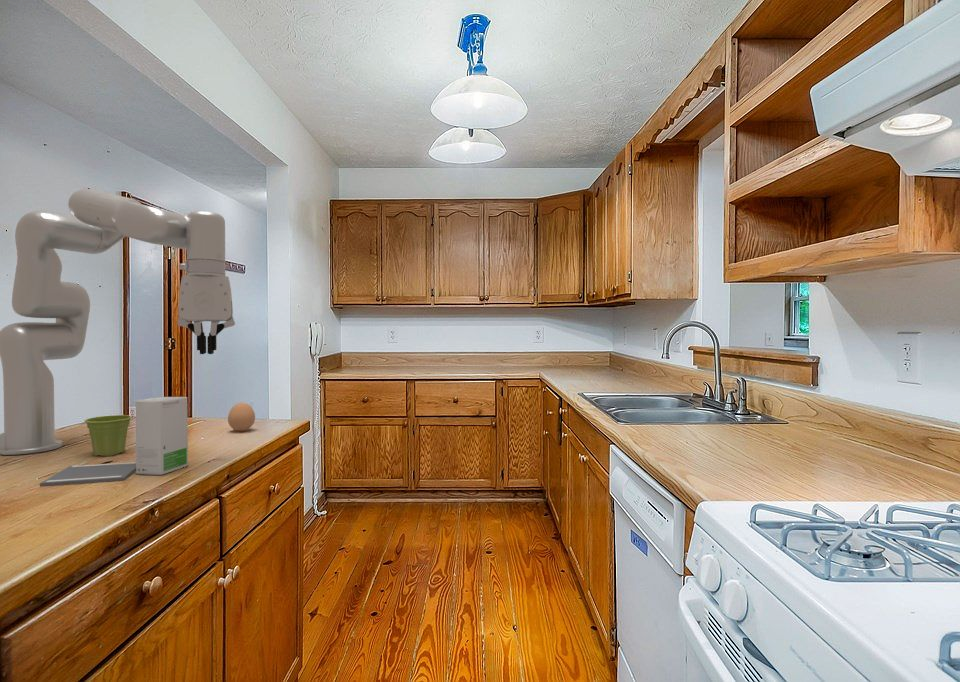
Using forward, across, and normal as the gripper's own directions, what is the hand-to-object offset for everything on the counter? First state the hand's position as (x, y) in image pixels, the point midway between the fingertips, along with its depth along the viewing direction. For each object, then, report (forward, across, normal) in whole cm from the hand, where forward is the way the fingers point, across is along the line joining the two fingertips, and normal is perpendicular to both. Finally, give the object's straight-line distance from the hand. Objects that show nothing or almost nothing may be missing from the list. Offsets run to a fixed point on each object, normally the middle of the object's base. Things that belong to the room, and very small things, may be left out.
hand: (206, 353), depth 115 cm
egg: (+25, +2, +41) cm, 48 cm away
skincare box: (+25, -9, 0) cm, 27 cm away
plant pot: (+25, -25, +20) cm, 41 cm away
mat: (+25, -21, 0) cm, 33 cm away
